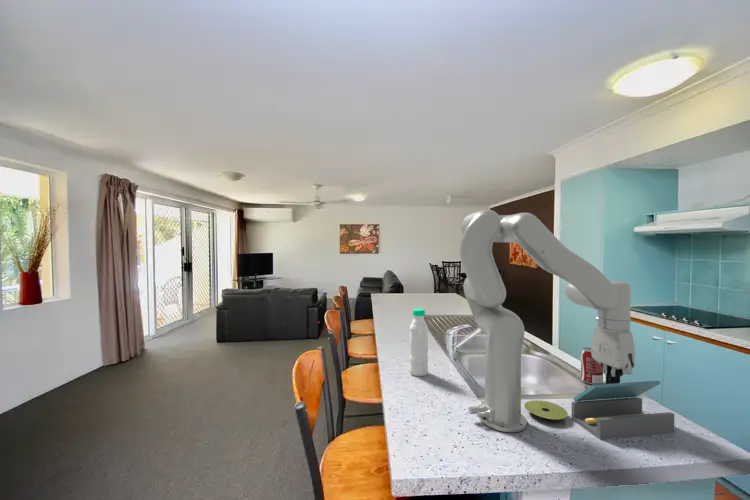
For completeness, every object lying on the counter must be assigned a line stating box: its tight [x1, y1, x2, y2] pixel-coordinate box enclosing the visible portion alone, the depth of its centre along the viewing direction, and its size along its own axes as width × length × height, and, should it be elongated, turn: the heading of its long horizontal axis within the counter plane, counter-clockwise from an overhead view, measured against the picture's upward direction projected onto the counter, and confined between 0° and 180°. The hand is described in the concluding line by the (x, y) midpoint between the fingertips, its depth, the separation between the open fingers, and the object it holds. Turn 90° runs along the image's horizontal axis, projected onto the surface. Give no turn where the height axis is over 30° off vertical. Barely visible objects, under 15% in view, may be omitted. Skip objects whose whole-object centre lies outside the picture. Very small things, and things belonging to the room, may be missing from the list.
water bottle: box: [409, 308, 429, 377], centre depth 127 cm, size 7×7×25 cm
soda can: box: [580, 346, 604, 386], centre depth 119 cm, size 7×7×12 cm
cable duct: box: [571, 396, 675, 441], centre depth 90 cm, size 22×10×5 cm, turn 98°
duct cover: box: [573, 380, 661, 402], centre depth 92 cm, size 20×10×1 cm
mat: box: [523, 399, 569, 420], centre depth 96 cm, size 11×11×2 cm
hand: (612, 388), depth 93 cm, fingers closed
